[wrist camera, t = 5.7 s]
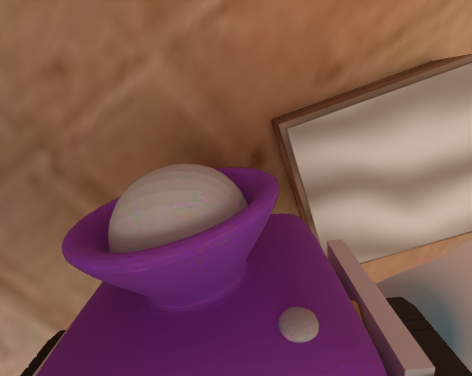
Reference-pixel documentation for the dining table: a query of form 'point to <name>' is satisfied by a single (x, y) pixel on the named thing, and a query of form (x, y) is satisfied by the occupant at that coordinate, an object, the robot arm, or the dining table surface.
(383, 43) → the dining table surface
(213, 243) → the toy camera
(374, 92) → the stand
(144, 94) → the dining table surface
